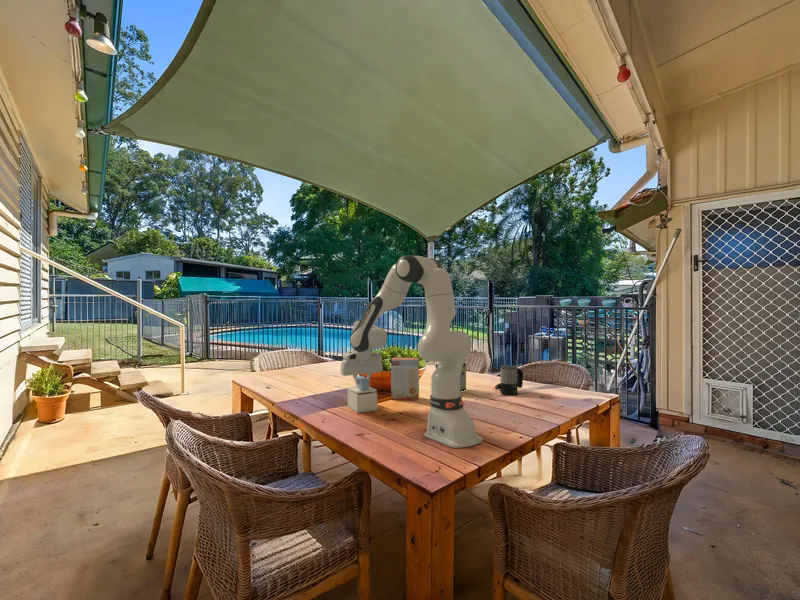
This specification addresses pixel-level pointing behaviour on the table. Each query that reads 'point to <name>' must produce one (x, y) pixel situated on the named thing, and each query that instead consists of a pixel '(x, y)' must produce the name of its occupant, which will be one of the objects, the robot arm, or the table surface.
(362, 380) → the blue-gray rectangular block
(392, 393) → the cracker box
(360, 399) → the carton
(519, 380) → the milk frother
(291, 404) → the table surface
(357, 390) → the lid flap
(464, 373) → the protein box
